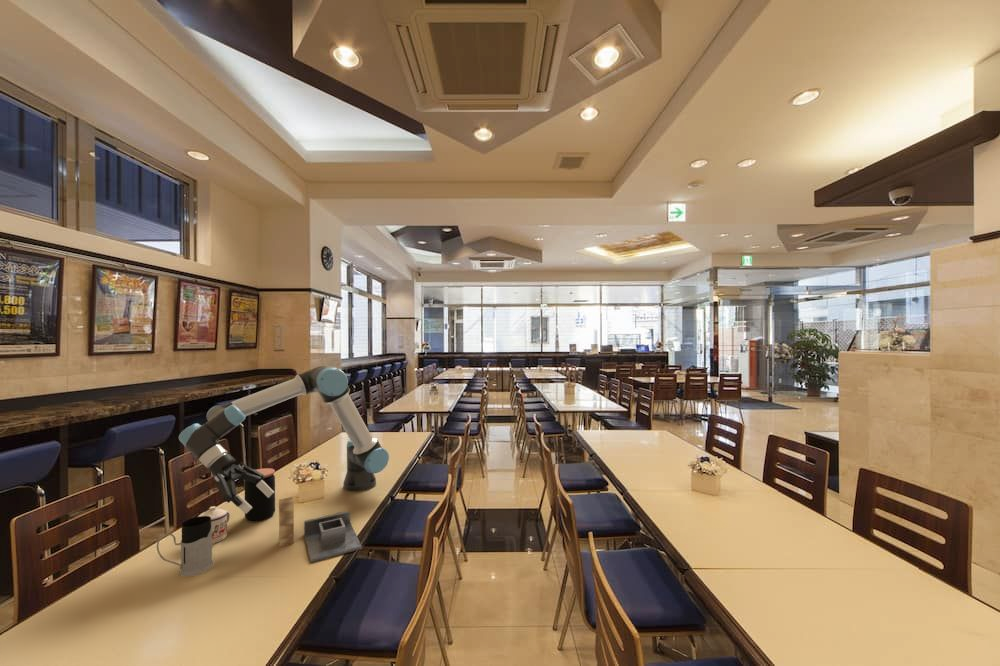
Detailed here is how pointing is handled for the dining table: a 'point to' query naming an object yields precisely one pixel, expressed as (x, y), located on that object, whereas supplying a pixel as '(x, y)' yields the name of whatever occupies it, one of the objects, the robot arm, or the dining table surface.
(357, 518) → the dining table surface
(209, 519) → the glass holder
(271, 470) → the coffee jar
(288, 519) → the wooden block
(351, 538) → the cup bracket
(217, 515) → the teacup with lid
